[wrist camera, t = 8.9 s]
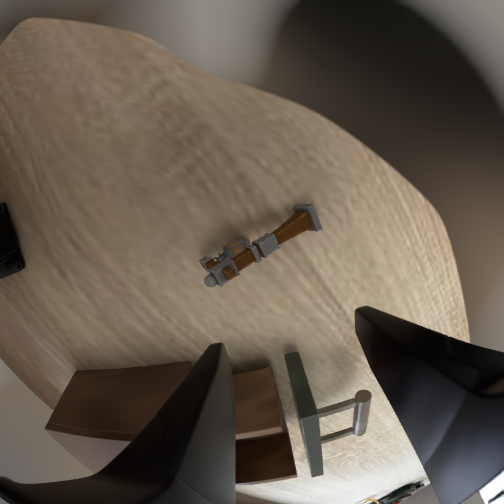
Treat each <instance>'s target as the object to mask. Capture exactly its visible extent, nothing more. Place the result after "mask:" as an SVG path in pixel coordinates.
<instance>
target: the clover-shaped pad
mask: <svg viewBox="0 0 504 504" xmlns="http://www.w3.org/2000/svg"><path fill="white" fill-rule="evenodd" d="M424 486H425V485H424V483H422V484H419V485H417V486H416V485H412V486H409V487H407V488H405V489H402V490H399V491H397V492H395V493H393V494H392V495H390V496H388V497H386V498H384V499H382V500H381V501H379V503H380V504H399V503H400V502H402V501H404V500H406V499H407V498H409V497H410V496H412V495H413V494H414V493H416V492H417V491H419V490H420V489H422V488H423V487H424ZM376 504H377V503H376Z"/></svg>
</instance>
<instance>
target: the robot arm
mask: <svg viewBox="0 0 504 504" xmlns="http://www.w3.org/2000/svg"><path fill="white" fill-rule="evenodd" d="M24 267H25V264H24V261H23V258H22V256H21V253H20V250H19V247H18V244H17V241H16V238H15V235H14V232H13V229H12V226H11V222H10V219H9V215H8V211H7V207H6V204H5V203H4V202H2V203H0V279H1V278H4V277H6V276H9V275H11V274H14V273H16V272H19V271H21V270H23V269H24ZM355 331H356V335H357V337H358V340H359V342H360V344H361V347H362V349H363V351H364V354H365V356H366V358H367V361H368V363H369V366H370V368H371V370H372V372H373V374H374V376H375V377H376V379H377V381H378V383H379V384H380V386H381V388H382V390H383V392H384V393H385V395H386V397H387V399H388V401H389V402H390V404H391V406H392V408H393V410H394V412H395V413H396V415H397V417H398V419H399V421H400V423H401V425H402V426H403V428H404V430H405V432H406V434H407V436H408V438H409V440H410V442H411V444H412V446H413V448H414V450H415V452H416V454H417V456H418V458H419V460H420V462H421V464H422V465H423V468H424V470H425V472H426V474H427V476H428V478H429V480H430V483H431V485H432V487H433V489H434V491H435V493H436V495H437V497H438V500H439V502H440V504H460V503H462V502H463V501H465V500H466V499H468V498H469V497H471V496H472V495H473V494H475V493H476V492H479V494H480V496H481V498H482V500H483V502H484V504H504V352H500V351H496V350H492V349H487V348H483V347H480V346H476V345H473V344H470V343H467V342H464V341H461V340H458V339H455V338H453V337H448V336H447V335H444V334H441V333H439V332H436V331H433V330H431V329H428V328H425V327H423V326H420V325H417V324H415V323H412V322H409V321H407V320H404V319H401V318H399V317H396V316H393V315H391V314H388V313H385V312H383V311H380V310H377V309H375V308H372V307H370V306H363V307H359V308H357V309H356V310H355ZM235 443H236V403H235V393H234V385H233V377H232V368H231V363H230V359H229V357H228V354H227V351H226V349H225V346H224V344H223V343H221V342H220V343H214V344H211V345H209V347H208V348H207V349H206V350H205V352H204V353H203V354H202V356H201V357H200V358H199V360H198V361H197V362H196V363H195V365H194V366H193V367H192V369H191V370H190V371H189V372H188V374H187V375H186V376H185V378H184V379H183V380H182V381H181V383H180V384H179V385H178V386H177V388H176V389H175V390H174V392H173V393H172V394H171V395H170V397H169V398H168V399H167V400H166V402H165V403H164V404H163V405H162V407H161V408H160V409H159V410H158V412H157V414H155V415H154V417H153V418H152V419H151V420H150V421H149V423H148V424H147V425H146V426H145V427H144V429H143V430H142V431H141V432H140V433H139V434H138V435H137V436H136V437H135V438H134V439H133V440H132V441H131V442H130V443H129V444H128V445H127V446H126V447H125V448H124V449H123V450H122V451H121V452H120V453H119V454H118V455H117V456H116V457H115V458H114V459H113V460H112V461H111V462H109V463H108V464H107V465H106V466H105V467H104V468H103V469H102V470H100V471H99V472H97V473H96V474H94V475H92V476H89V477H85V478H79V479H74V480H66V481H59V482H50V483H38V484H23V483H18V482H14V481H12V480H10V479H9V478H7V477H5V476H0V497H1V498H2V499H3V500H5V501H6V502H8V503H9V504H235Z"/></svg>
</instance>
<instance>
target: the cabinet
mask: <svg viewBox="0 0 504 504" xmlns="http://www.w3.org/2000/svg"><path fill="white" fill-rule="evenodd" d="M191 369H192V366H191V364H190V362H189V361H187V362H180V363H173V364H165V365H157V366H147V367H137V368H126V369H112V370H95V371H76V372H75V373H74V375H73V377H72V379H71V380H70V382H69V384H68V386H67V387H66V389H65V391H64V393H63V394H62V396H61V398H60V400H59V402H58V404H57V406H56V407H55V409H54V411H53V413H52V415H51V417H50V419H49V421H48V423H47V425H46V427H45V430H46V431H47V432H48V433H49V434H50V435H51V436H52V437H53V438H54V439H55V440H56V441H57V442H58V443H59V444H61V445H62V446H63V447H64V448H65V449H66V450H67V451H68V452H69V453H70V454H72V455H73V456H74V457H75V458H76V459H78V460H79V461H80V462H81V463H82V464H84V465H85V466H86V467H87V468H89V469H90V470H91V471H92V472H94V473H95V474H96V473H97V472H99V471H100V470H102V469H103V468H104V467H105V466H106V465H107V464H108V463H109V462H111V461H112V460H113V459H114V458H115V457H116V456H117V455H118V454H119V453H120V452H121V451H122V450H123V449H124V448H125V447H126V446H127V445H128V444H129V443H130V442H131V441H132V440H133V439H134V438H135V437H136V436H137V435H138V434H139V433H140V432H141V431H142V430H143V429H144V427H145V426H146V425H147V424H148V423H149V421H150V420H151V419H152V418H153V417H154V415H155V414H157V412H158V410H159V409H160V408H161V407H162V405H163V404H164V403H165V402H166V400H167V399H168V398H169V397H170V395H171V394H172V393H173V392H174V390H175V389H176V388H177V386H178V385H179V384H180V383H181V381H182V380H183V379H184V378H185V376H186V375H187V374H188V372H189V371H190V370H191Z"/></svg>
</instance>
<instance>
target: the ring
mask: <svg viewBox="0 0 504 504" xmlns="http://www.w3.org/2000/svg"><path fill="white" fill-rule="evenodd" d="M368 501H375V502H376V503H377V504H380V503H379V502H378V501H377V500H375V499H365V500H364V501H362V502H361V503H360V504H363V503H366V502H368Z"/></svg>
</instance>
